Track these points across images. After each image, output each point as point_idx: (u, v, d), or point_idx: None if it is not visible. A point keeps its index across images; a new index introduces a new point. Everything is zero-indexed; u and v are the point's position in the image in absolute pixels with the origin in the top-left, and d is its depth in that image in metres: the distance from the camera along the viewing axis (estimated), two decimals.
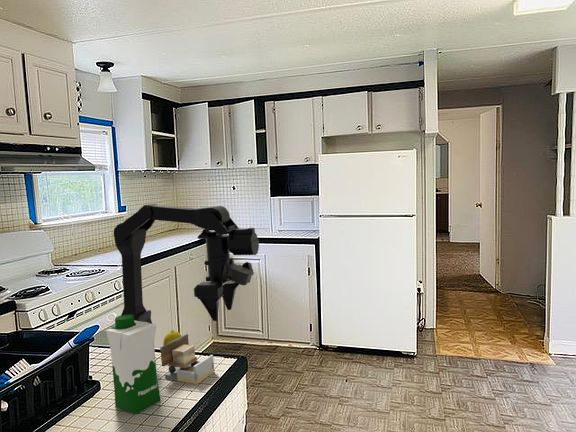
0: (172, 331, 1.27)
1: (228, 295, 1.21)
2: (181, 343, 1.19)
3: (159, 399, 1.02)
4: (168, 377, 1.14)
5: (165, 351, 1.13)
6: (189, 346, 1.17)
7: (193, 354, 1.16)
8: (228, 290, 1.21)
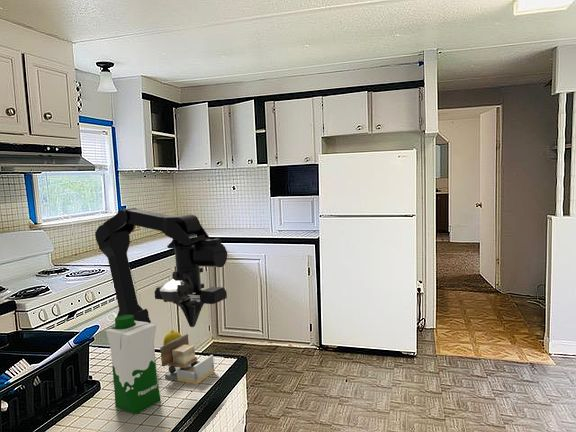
0: (172, 331, 1.27)
1: None
2: (181, 343, 1.19)
3: (159, 399, 1.02)
4: (168, 377, 1.14)
5: (165, 351, 1.13)
6: (189, 346, 1.17)
7: (193, 354, 1.16)
8: None
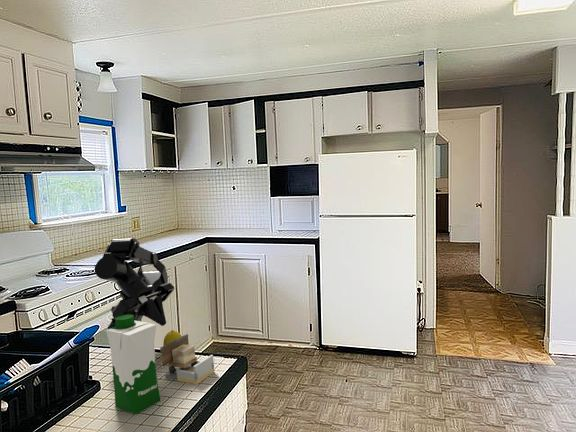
0: (172, 331, 1.27)
1: None
2: (181, 343, 1.19)
3: (159, 399, 1.02)
4: (168, 377, 1.14)
5: (165, 351, 1.13)
6: (189, 346, 1.17)
7: (193, 354, 1.16)
8: None
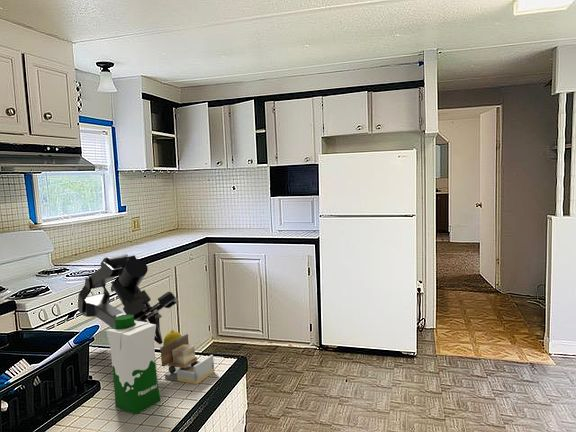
0: (172, 331, 1.27)
1: None
2: (181, 343, 1.19)
3: (159, 399, 1.02)
4: (168, 377, 1.14)
5: (165, 351, 1.13)
6: (189, 346, 1.17)
7: (193, 354, 1.16)
8: None
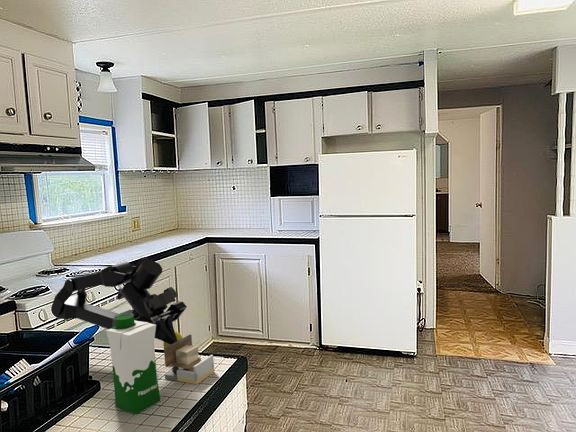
0: None
1: None
2: (184, 344, 1.18)
3: (159, 399, 1.02)
4: (168, 377, 1.14)
5: (169, 352, 1.13)
6: (193, 347, 1.16)
7: (196, 355, 1.16)
8: None
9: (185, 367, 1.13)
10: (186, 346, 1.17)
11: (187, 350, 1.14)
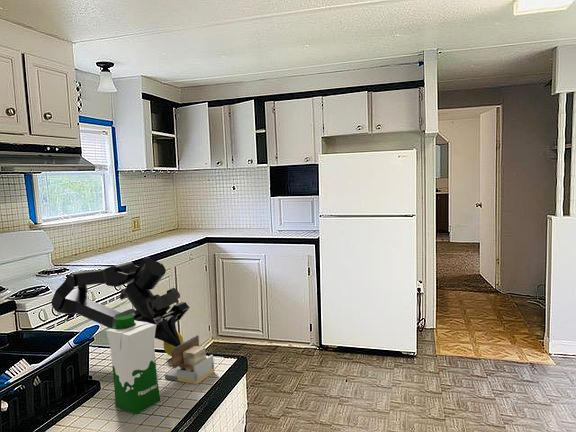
0: None
1: None
2: (192, 345, 1.17)
3: (159, 399, 1.02)
4: (168, 377, 1.14)
5: (176, 353, 1.12)
6: (200, 348, 1.15)
7: (204, 356, 1.15)
8: None
9: None
10: (193, 347, 1.16)
11: (194, 351, 1.13)
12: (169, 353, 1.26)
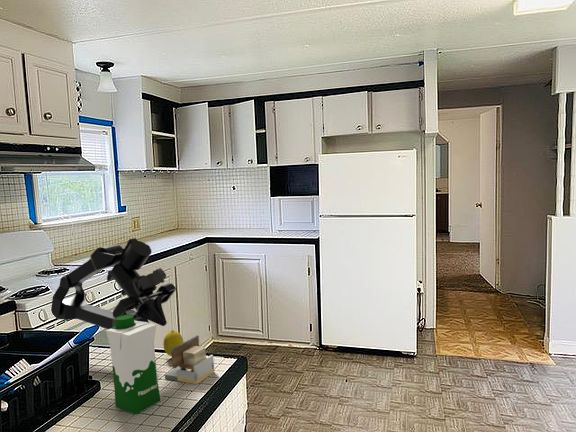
0: (172, 331, 1.27)
1: None
2: (192, 345, 1.17)
3: (159, 399, 1.02)
4: (168, 377, 1.14)
5: (176, 353, 1.12)
6: (200, 348, 1.15)
7: (204, 356, 1.15)
8: None
9: None
10: (193, 347, 1.16)
11: (194, 351, 1.13)
12: (169, 353, 1.26)
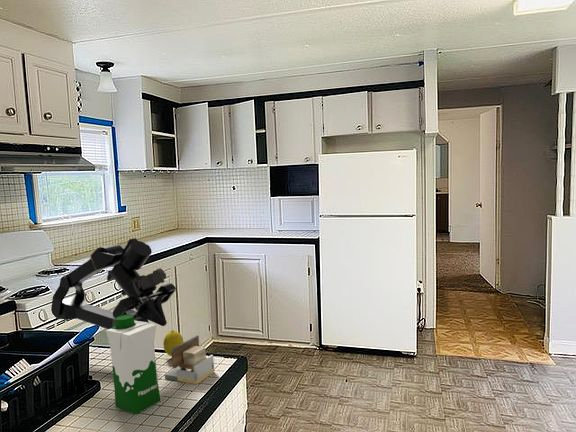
0: (172, 331, 1.27)
1: None
2: (192, 345, 1.17)
3: (159, 399, 1.02)
4: (168, 377, 1.14)
5: (176, 353, 1.12)
6: (200, 348, 1.15)
7: (204, 356, 1.15)
8: None
9: None
10: (193, 347, 1.16)
11: (194, 351, 1.13)
12: (169, 353, 1.26)
